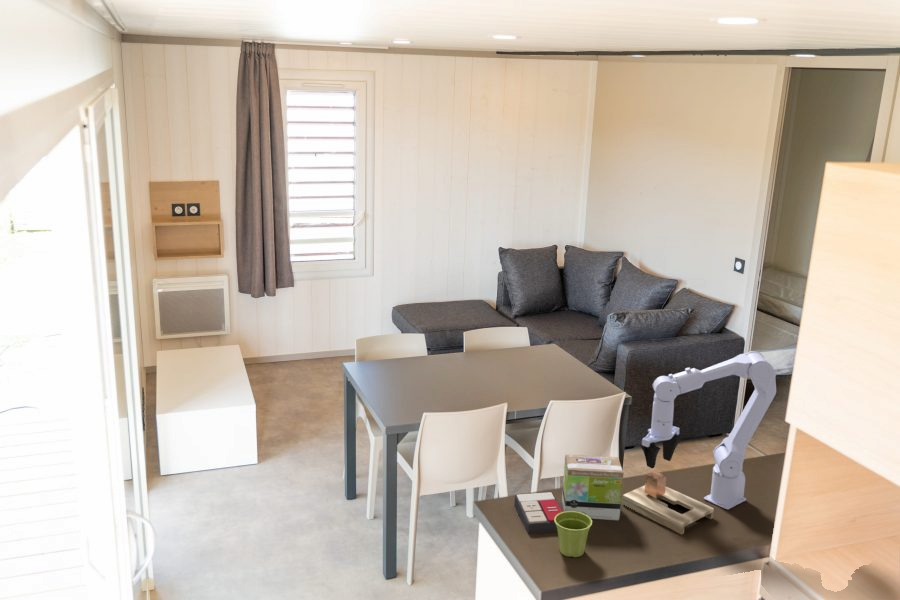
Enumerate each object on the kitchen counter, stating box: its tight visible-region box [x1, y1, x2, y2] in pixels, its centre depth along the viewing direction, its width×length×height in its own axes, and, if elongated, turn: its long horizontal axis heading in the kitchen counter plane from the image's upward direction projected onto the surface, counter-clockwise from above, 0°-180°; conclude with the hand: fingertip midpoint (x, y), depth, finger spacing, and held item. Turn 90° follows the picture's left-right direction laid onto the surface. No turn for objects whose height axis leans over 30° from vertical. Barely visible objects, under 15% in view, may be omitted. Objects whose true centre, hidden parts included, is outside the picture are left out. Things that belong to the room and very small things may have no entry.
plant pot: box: [554, 511, 593, 558], centre depth 200 cm, size 9×9×9 cm
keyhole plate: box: [621, 484, 715, 535], centre depth 220 cm, size 14×20×3 cm
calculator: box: [513, 491, 564, 534], centre depth 216 cm, size 11×4×15 cm
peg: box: [644, 470, 667, 502], centre depth 223 cm, size 4×4×9 cm
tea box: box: [561, 454, 624, 522], centre depth 219 cm, size 15×10×15 cm
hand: (658, 463), depth 227 cm, fingers open, 7 cm apart
